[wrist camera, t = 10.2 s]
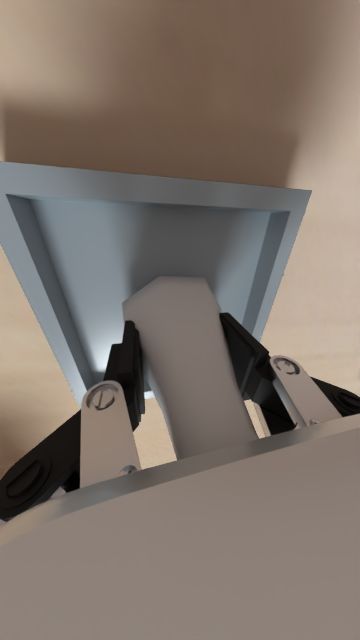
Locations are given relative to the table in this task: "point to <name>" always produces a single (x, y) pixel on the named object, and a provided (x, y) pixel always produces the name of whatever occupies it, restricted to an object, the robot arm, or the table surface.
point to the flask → (189, 364)
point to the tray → (137, 250)
